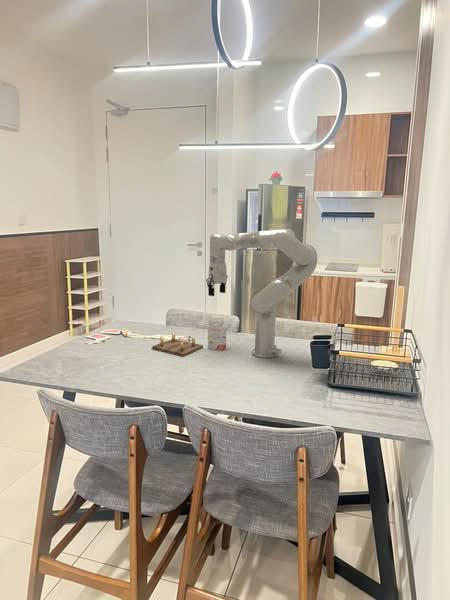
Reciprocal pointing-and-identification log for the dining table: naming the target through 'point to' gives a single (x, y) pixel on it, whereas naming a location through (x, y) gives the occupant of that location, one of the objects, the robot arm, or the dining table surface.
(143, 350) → the dining table surface
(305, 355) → the dining table surface
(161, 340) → the brass pins
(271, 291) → the robot arm
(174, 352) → the walnut plate
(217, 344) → the ink cartridge box
